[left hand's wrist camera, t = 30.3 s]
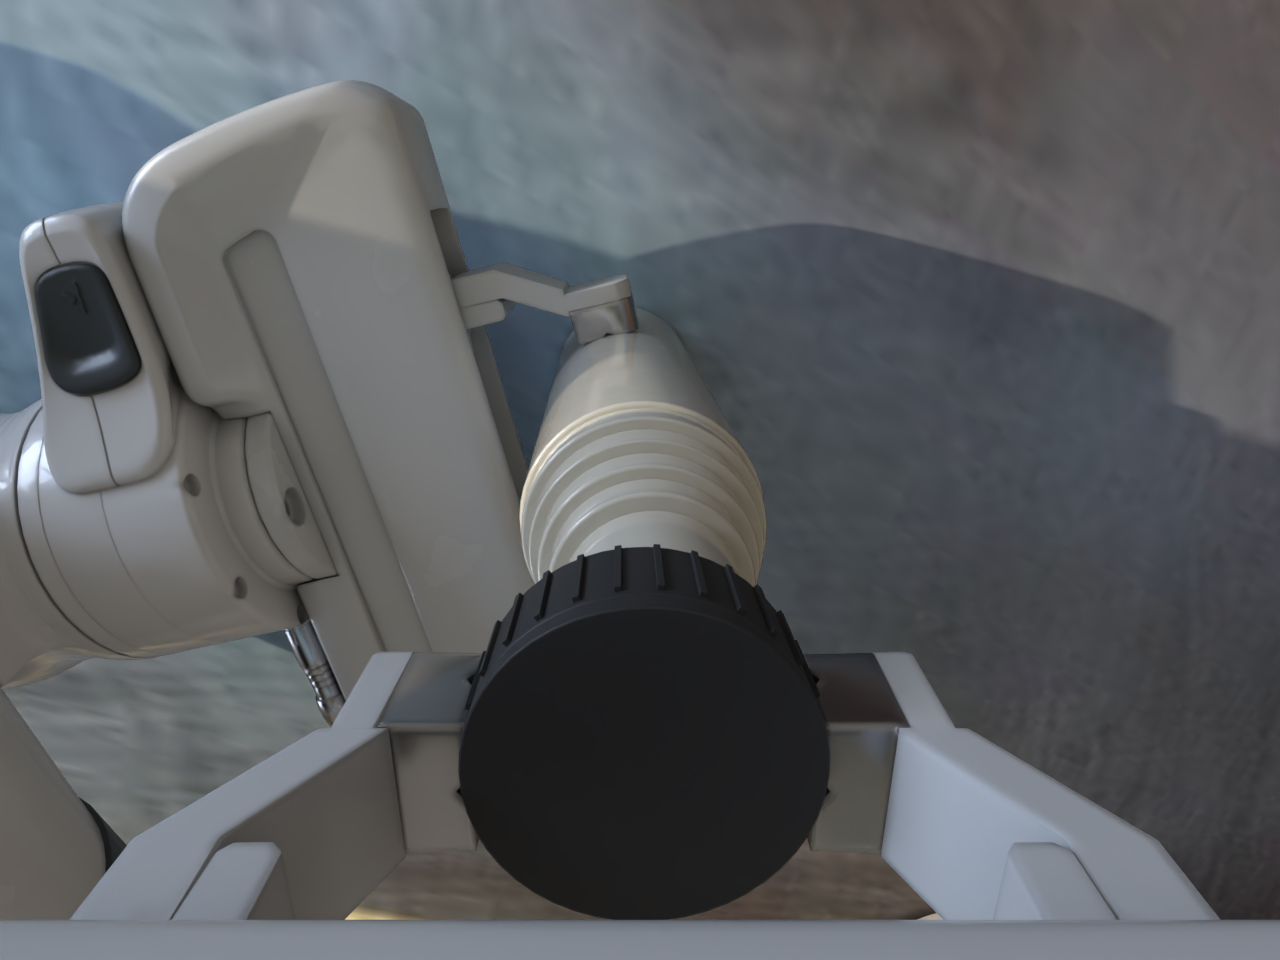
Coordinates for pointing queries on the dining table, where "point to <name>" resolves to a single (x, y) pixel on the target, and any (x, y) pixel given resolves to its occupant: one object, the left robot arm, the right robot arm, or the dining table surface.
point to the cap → (643, 737)
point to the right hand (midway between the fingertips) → (656, 400)
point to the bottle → (638, 459)
